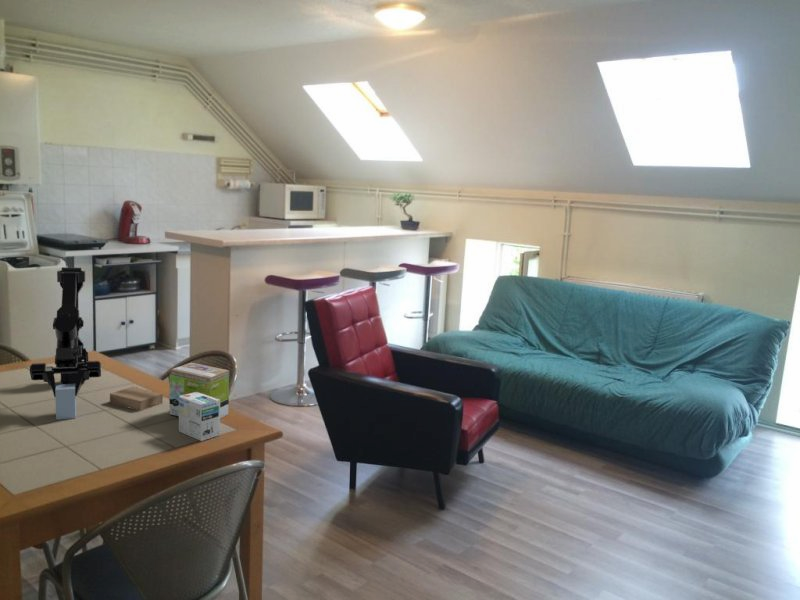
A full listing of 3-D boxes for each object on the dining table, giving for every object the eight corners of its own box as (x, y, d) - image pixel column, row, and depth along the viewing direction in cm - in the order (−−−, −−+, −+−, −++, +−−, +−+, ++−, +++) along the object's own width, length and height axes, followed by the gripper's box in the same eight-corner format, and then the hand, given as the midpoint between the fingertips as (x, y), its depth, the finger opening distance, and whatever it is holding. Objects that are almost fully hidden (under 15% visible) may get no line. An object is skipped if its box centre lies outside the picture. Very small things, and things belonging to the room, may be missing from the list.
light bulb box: (220, 435, 187) (221, 399, 185) (201, 442, 182) (201, 404, 180) (197, 425, 193) (197, 390, 191) (177, 431, 188) (177, 395, 186)
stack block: (132, 396, 216) (132, 386, 215) (162, 404, 210) (162, 393, 210) (110, 404, 208) (109, 393, 207) (140, 412, 202) (140, 401, 202)
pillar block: (76, 412, 198) (75, 383, 196) (75, 418, 193) (74, 388, 192) (57, 413, 196) (56, 384, 194) (56, 419, 191) (55, 389, 190)
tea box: (168, 415, 200) (168, 368, 198) (190, 406, 209) (190, 361, 207) (208, 425, 195) (209, 376, 192) (229, 415, 204) (230, 368, 201)
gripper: (29, 336, 190) (25, 384, 182) (100, 334, 198) (100, 380, 190) (33, 356, 199) (30, 403, 191) (101, 353, 206) (100, 398, 198)
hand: (65, 395), depth 192 cm, fingers closed on pillar block, 5 cm apart
